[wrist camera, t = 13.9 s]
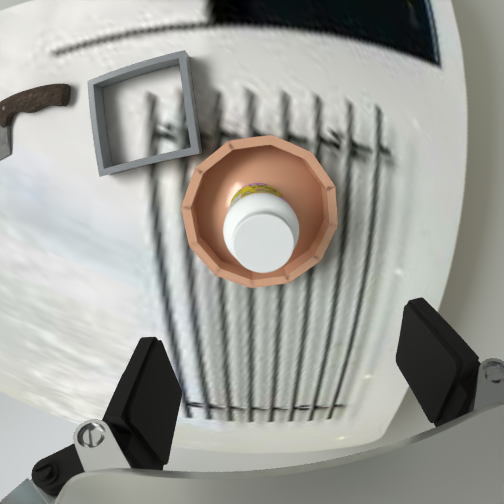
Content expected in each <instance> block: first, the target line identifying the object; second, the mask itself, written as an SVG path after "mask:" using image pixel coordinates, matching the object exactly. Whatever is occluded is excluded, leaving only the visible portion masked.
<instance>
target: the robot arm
mask: <svg viewBox="0 0 504 504" xmlns="http://www.w3.org/2000/svg"><path fill="white" fill-rule="evenodd" d="M478 359H479V357H478V356H477V355H476V354H475V352H474V351H473V350H472V349H471V348H470V347H469V346H468V345H467V343H466V342H465V341H464V340H463V339H462V338H461V337H460V336H459V335H458V334H457V332H456V331H455V330H454V329H453V328H452V327H451V326H450V325H449V324H448V323H447V322H446V321H445V320H444V319H443V318H442V317H441V316H440V315H439V313H438V312H437V311H436V310H435V309H434V308H433V307H432V306H431V305H430V304H429V303H428V302H427V301H426V300H425V299H424V298H417V299H413V300H409V301H408V303H407V305H405V307H404V311H403V318H402V325H401V331H400V337H399V343H398V348H397V353H396V363H397V366H398V367H399V369H400V371H401V372H402V374H403V376H404V377H405V379H406V381H407V383H408V384H409V386H410V388H411V389H412V391H413V393H414V395H415V396H416V398H417V400H418V402H419V404H420V405H421V407H422V409H423V411H424V413H425V414H426V416H427V418H428V420H429V421H430V422H431V423H434V424H435V426H436V428H433V429H430V430H428V431H425V432H423V433H420V434H418V435H415V436H412V437H410V438H407V439H404V440H401V441H398V442H395V443H392V444H389V445H386V446H383V447H379V448H376V449H372V450H369V451H365V452H361V453H357V454H354V455H349V456H345V457H341V458H336V459H332V460H327V461H322V462H316V463H311V464H305V465H298V466H291V467H284V468H276V469H265V470H253V471H236V472H181V471H163V466H164V465H166V464H167V463H168V460H169V455H170V450H171V445H172V440H173V435H174V430H175V425H176V421H177V416H178V411H179V407H180V402H181V397H182V391H181V388H180V385H179V383H178V381H177V378H176V376H175V373H174V371H173V368H172V366H171V363H170V361H169V358H168V356H167V353H166V351H165V348H164V345H163V343H162V341H161V340H158V339H157V338H156V337H142V338H141V339H140V340H139V342H138V344H137V346H136V349H135V351H134V353H133V355H132V357H131V359H130V361H129V363H128V365H127V368H126V370H125V372H124V373H123V374H122V377H121V379H120V381H119V383H118V385H117V387H116V390H115V392H114V394H113V396H112V399H111V401H110V403H109V405H108V408H107V410H106V412H105V415H104V417H103V419H102V420H97V419H93V420H88V421H85V422H84V423H82V424H81V425H80V426H79V427H78V428H77V429H76V431H75V432H74V437H73V439H74V444H72V445H70V446H68V447H66V448H64V449H62V450H60V451H58V452H56V453H54V454H52V455H50V456H48V457H46V458H44V459H41V460H40V461H39V462H37V463H36V464H35V465H34V468H33V470H32V479H31V480H29V479H28V478H27V479H26V480H25V481H23V482H22V483H21V484H20V485H19V486H18V487H16V488H15V489H14V490H13V491H12V492H11V493H9V494H8V495H7V496H6V497H5V498H4V499H2V501H1V502H0V504H504V361H502V360H500V359H495V358H490V359H486V360H485V361H483V362H482V363H480V362H479V361H478Z"/></svg>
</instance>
